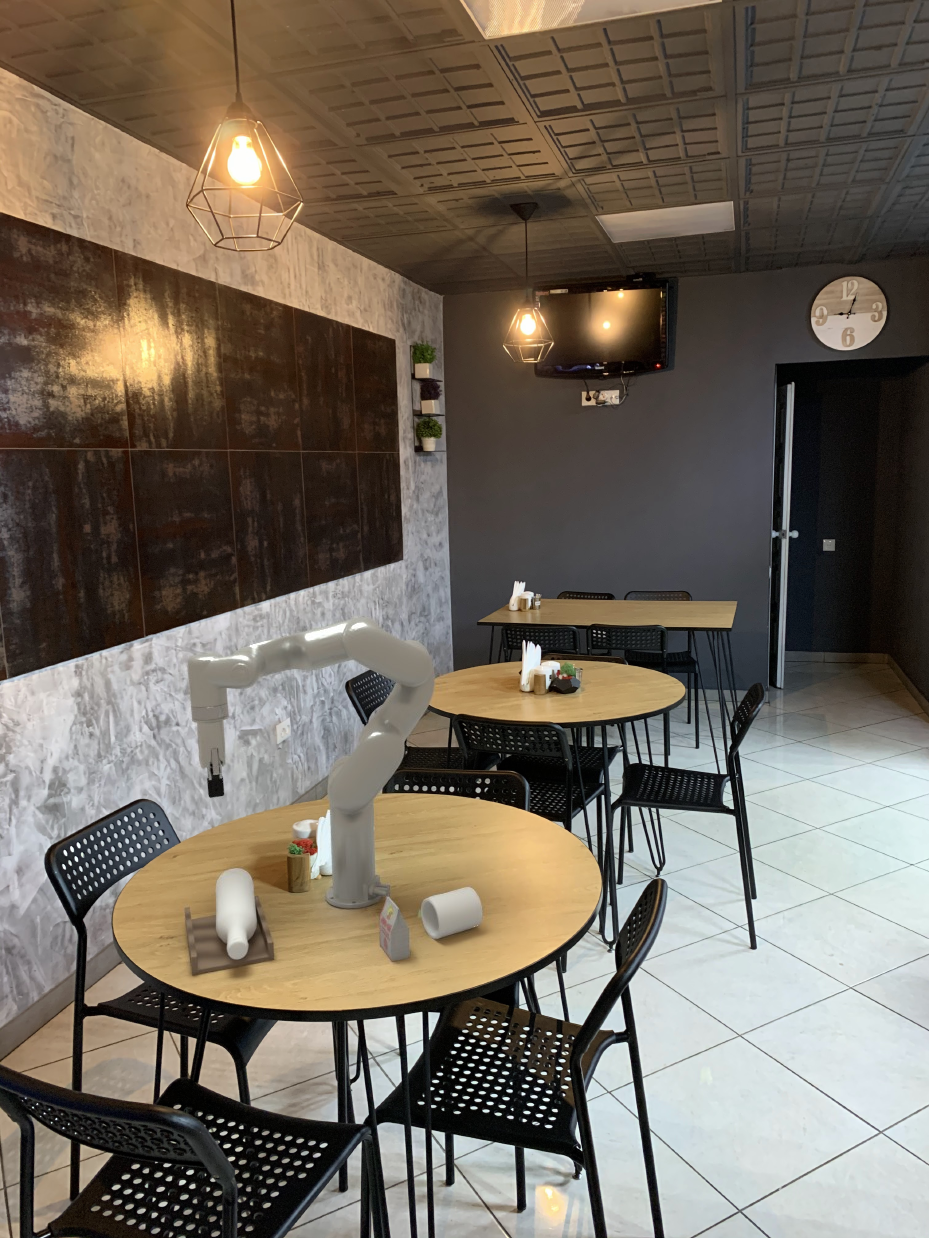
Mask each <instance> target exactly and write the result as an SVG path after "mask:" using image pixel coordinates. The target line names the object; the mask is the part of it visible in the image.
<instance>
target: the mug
mask: <svg viewBox="0 0 929 1238" xmlns="http://www.w3.org/2000/svg"><path fill="white" fill-rule="evenodd" d="M482 906H483V905H482V902H481V899H480V897H479V895H478V893H477V891H475V889H474V888H472V887H470V886H464V887H461V888H458V889H454V890H451V891H448V892H444V893H439V894H434V895H431V896H429V897H426V898H425V899H423V900H422V902H421V907H420V915H421V921H422V924H423V927H424V930H425V932H426V933H427V935H428V936H429V937H430V938H432V939H434V940H438V939H441V938H444V937H448V936H450V935H454V934H457V933H460V932H463V931H467V930H470V929H473V928H476V927H479V926H480V925H481V924H482V921H483V913H484V912H483V907H482ZM477 925H478V926H477ZM474 926H475V927H474ZM471 927H472V928H471Z"/></svg>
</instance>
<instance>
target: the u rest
mask: <svg viewBox="0 0 929 1238" xmlns="http://www.w3.org/2000/svg"><path fill="white" fill-rule="evenodd" d="M254 898H255V908H256V918H257V926H256V930H255V932H254V934H253V936H252V937H251V938H250V939H249V940H248V941H247V942H248V951H247V954H246V955H245V956H244V957H243V958H241V959H233V958H231V957H230V956H229V955H228V952H227V944H226V943H225V942H223V941H222V939H221V938H220V937H219V936H218V934H217V931H216V914H215V915H214V914H212V915H208V916H202V917H196V918H192V915H191V908H190V907H184V922H185V930H186V937H187V945H188V953H189V960H190V967H191V975H192V976H195V975H200V974H206V973H212V972H217V971H221V970H227V969H231V968H238V967H243V966H248V965H254V964H258V963H264V962H267V961H275V947H274V946H275V945H274V944H275V942H274V940H273V937H272V934H271V930H270V927H269V925H268V922H267V919H266V916H265V912H264V909H263V906H262V904H261V901H260V898H259V895H254Z"/></svg>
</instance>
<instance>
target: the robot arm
mask: <svg viewBox="0 0 929 1238" xmlns="http://www.w3.org/2000/svg"><path fill="white" fill-rule="evenodd" d="M430 655H431V654H429V651H428V649H427V648H426V646H425V645H423V644H422V642H420V641H417V640H414V639H407V640H406V639H405V640H403V639H401V638H399V637H397V636H396V635H394V634H391V633H389V632H387V631H385V630H384V629H383V628H381V626H380V625H379V623H378V622H377V621H376V620H374V619H373V618H371V617H368V616H360V617H359V616H358V617H353V618H351V619H346V620H343V621H340V622H339V621H338V622H336V623H331V624H329V625H325V626H321V627H316V628H313V629H310V630H306V631H302V632H297V633H294V634H293V633H292V634H290V635H286V636H281V637H277V638H273V639H269V640H265V641H261V642H257V643H253V644H250V645H247V646H244V647H241V648H238V649H237V650H236V651H234V652H233V653H232V654H230V655H228V656H226V655H225V656H224V655H222V654H220V653H217V652H205V653H197V654H194V655H192V656H190V657H189V658H188V661H187V675H188V685H189V698H190V711H191V714H190V715H191V721H192V722H194V723H196V731H197V746H198V747H197V748H198V760H199V764H200V768H201V769H203V770H206V771H207V772H206V773H207V778H206V781H207V782H206V783H207V794H208V797H209V798H210V799H211V798H213V799H214V798H218V797H219V798H220V797H223V796H225V784H224V777H223V769H222V768H224V767H225V765H226V739H225V737H226V736H225V725H224V721H225V720H226V719H229V717H230V715H229V702H228V690H227V689H233V690H246V689H249V688H251V687H253V686H255V685H256V684H257V682H258V681H259V679H260V678H262V677H266V676H270V675H273V674H277V673H280V672H281V673H282V672H285V671H290V670H302V671H308V672H309V671H317V670H320V669H324V668H328V667H330V666H335V665H338V664H341V663H345V662H350V661H354V662H356V663H358V664H360V665H362V666H363V667H365V668H367V669H369V670H371V671H372V672H375V673H377V674H379V675H381V676H383V677H385V678H387V679H388V680H390V681H393V682H395V684H394V686H393V688H392V690H391V691H390V693H389V695H388V696H387V697H386V699H385V701H384V702H383V703H382V705H381V706H380V707H379V709H378V710H377V712H376V713H375V714H374V715H373V716H372V718H371V719H370V720H369V721H368V722H367V723H366V725H365V726H363V729H362V730H361V732H360V735H359V737H358V745H357V746H356V748H355V749H354V750H353V752H352V753H351V754H349V755H343V756H341V757H340V758H338V759H337V760H335V762H334V763H333V764H332V766H331V767H330V770H329V772H328V780H327V790H326V791H327V798H328V801H329V818H330V819H329V821H330V824H329V825H330V848H331V849H330V853H331V877H332V881H331V882H332V885H331V886H330V887H329V888H328V889H327V890H326V892H325V899H326V902H327V903H328V904H330V905H331V906H333V907H337V908H341V909H360V908H365V907H369V906H372V905H373V904H377V903H378V902H379V901H380V900H382V898H386V896H387V897H388V896H389V897H390V895H391V884H389V883H382V881H381V875H379V874H376V851H375V850H376V846H375V813H374V812H375V807H374V805H375V804H374V799H376V797H377V796H378V794H379V793H380V792H381V791H382V789H383V788H384V787H385V785H386V784H387V783H388V781H389V780H390V779H391V778H392V777H393V775H394V774H395V772H396V771H397V769H398V768H399V766H400V765H401V763H402V761H403V758H404V755H405V741H406V740H407V738H408V737H409V736H410V734H411V732H412V731H413V730H414V729H415V727H416V725H417V724H418V722H419V721H420V720H421V718H422V717H423V716H424V714H425V713H426V711H427V709H428V707H429V705H430V704H431V701H432V699H433V695H434V692H435V691H434V690H435V686H436V685H435V684H436V683H435V680H436V678H435V677H436V676H435V667H434V663H433V662H432V661H433V660H432V658H431V656H430Z"/></svg>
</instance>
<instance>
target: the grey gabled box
mask: <svg viewBox="0 0 929 1238" xmlns="http://www.w3.org/2000/svg"><path fill="white" fill-rule="evenodd" d="M378 918H379V919H378V925H379V927H378V928H379V947H380V948H381V949H382V951H383V953H384V954H385V955H386V956H387V958H388V960H389V961H390V962H397V961H400V960H405V959H409V958H411V956H410V955H411V952H410V948H411V947H410V946H411V945H410V927H409V926H408V924H407V922H406V921H405V919H404V917H403V915H402V912H401V909H400V907H399V906H397V904H396V903H395V901H393V900H392V899H391V897H390V895H389V896H388V897H387V896H386V897H385V901H384V904H383V907H382V909H381V912H380V914H379V917H378Z"/></svg>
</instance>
